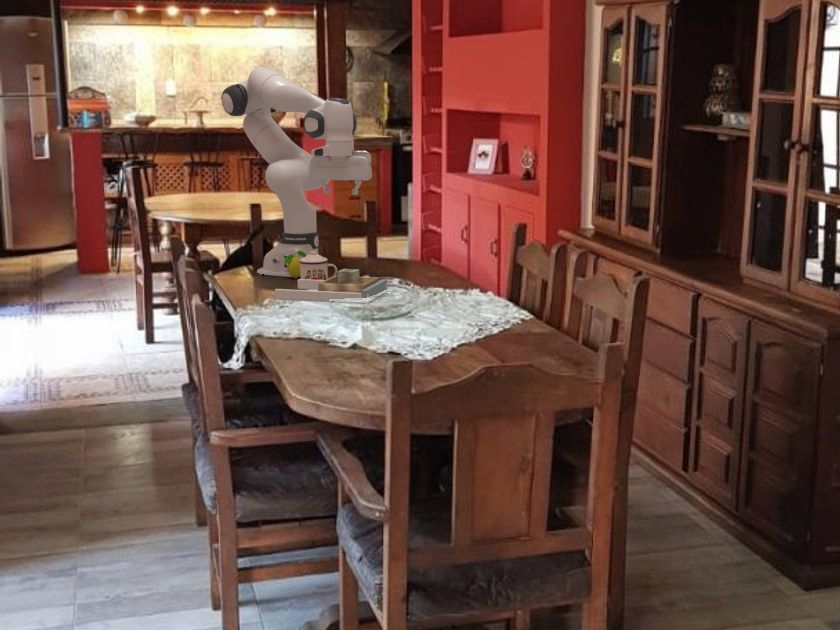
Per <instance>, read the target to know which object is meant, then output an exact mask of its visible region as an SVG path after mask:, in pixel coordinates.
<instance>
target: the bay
mask: <svg viewBox="0 0 840 630" xmlns="http://www.w3.org/2000/svg"><path fill="white" fill-rule="evenodd" d="M323 281H325V280H310V279H301V278H299V279H298V278H297V289H290V288H289V289H288V288H287V289H284V288H276V289H275V288H274V300H285V301H306V302H325V303H330V302H329V300H330V299H344V298H367V297H370V296H373V295H376V294H378V293H380V292H382V291H384V290H387V289H388V287H389V286H388V279H380V280H379V281H378V282H376V283H375V284H373V285H371V286H369V287H367V288H365V289H363V290H361V293H352V292H331V291H318V283H321V282H323Z"/></svg>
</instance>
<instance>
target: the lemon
mask: <svg viewBox="0 0 840 630" xmlns="http://www.w3.org/2000/svg"><path fill="white" fill-rule="evenodd" d="M294 251H295V249H294ZM295 252H296V251H295ZM296 253H297V254H298V255H300V256H301V257H303V258H304V257H306V254H305V253H304V252H303V251H299V252H296ZM293 255H294V254H293ZM293 255H288V256H287V257H286V258H285V260H284V264H287V263H288V264H287V271H288V273H289V275H291V276H293V277H292V278H293V279H295V280H296V279H297V280H298V278H299V277H301V275H300V262H299V261H300V258H298V257H296V256H294V257H293Z"/></svg>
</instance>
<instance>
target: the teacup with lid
mask: <svg viewBox="0 0 840 630" xmlns="http://www.w3.org/2000/svg"><path fill="white" fill-rule="evenodd" d="M318 254H319V253H318ZM318 254H317V252H316V251H311V252H310V255H307V256H306V257H304V258H301V259H300V261H299V262H300V275H301V276H300V279H310V280H327V279H329V278H331V277H334V276H337V275H338V267H337V266H336V265H335V264H333V263H328V262H329V260H328V258H327V257H325V256H322V255H320V254H319V255H318ZM329 267H333V268H334V272H333V275H331V276H329V273H328V272H329V271H328V268H329Z"/></svg>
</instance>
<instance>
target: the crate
mask: <svg viewBox="0 0 840 630" xmlns="http://www.w3.org/2000/svg"><path fill="white" fill-rule="evenodd" d="M330 277H331V276H330ZM359 281H360V285H351V284H338V275H336V276H334V277H331V278H329V279H327V280H325V281H323V282H321V283H318V290H317V291H331V292H352V293H361V290H363V289H365V288H367V287H369V286H371V285H373V284H375V283H376V282H378V281H380V280H379V277H378V276H377V277H376V276H373V277H372V276H359Z"/></svg>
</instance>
